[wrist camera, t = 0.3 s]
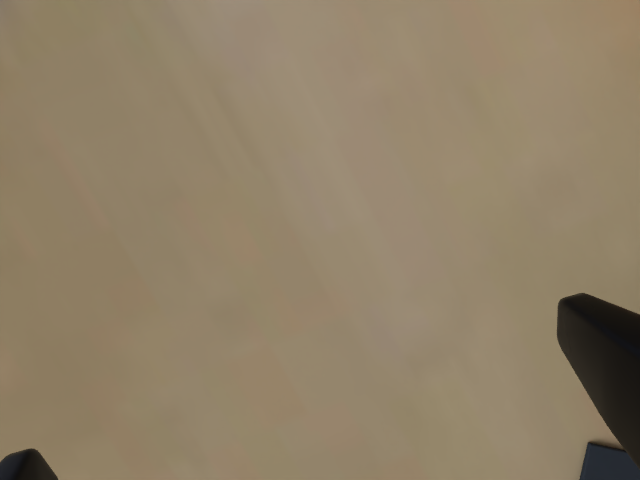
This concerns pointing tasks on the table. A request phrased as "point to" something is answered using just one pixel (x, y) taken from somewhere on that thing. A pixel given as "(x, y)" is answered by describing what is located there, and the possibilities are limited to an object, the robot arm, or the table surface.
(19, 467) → the robot arm
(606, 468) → the mat
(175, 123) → the table surface
